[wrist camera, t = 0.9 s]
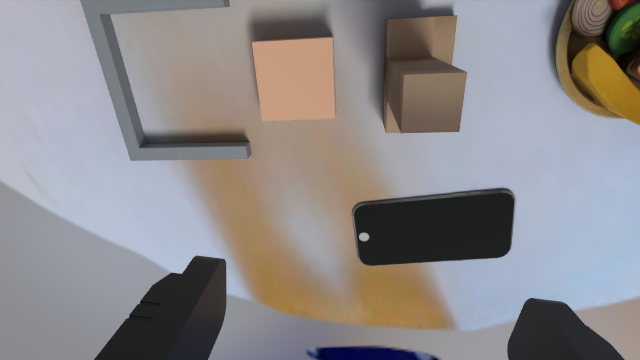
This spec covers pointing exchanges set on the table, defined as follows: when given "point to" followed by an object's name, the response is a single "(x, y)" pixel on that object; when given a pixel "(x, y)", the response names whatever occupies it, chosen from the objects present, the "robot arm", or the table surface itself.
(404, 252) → the smartphone
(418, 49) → the brown block
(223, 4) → the bay
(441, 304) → the table surface
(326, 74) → the tile
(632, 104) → the toy sandwich meal
